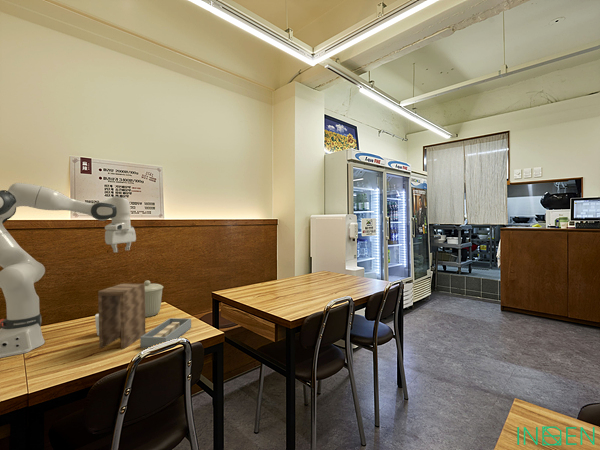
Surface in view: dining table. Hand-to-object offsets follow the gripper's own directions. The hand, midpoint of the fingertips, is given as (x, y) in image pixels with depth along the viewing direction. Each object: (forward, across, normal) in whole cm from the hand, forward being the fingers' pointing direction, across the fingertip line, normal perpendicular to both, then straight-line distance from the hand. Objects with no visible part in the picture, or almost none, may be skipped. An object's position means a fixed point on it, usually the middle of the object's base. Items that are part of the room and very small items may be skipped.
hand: (121, 251), depth 163 cm
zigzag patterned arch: (+41, +20, +15) cm, 48 cm away
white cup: (+41, +12, -2) cm, 43 cm away
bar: (+40, +15, +34) cm, 54 cm away
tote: (+41, +14, +34) cm, 55 cm away
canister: (+41, -19, +3) cm, 45 cm away
